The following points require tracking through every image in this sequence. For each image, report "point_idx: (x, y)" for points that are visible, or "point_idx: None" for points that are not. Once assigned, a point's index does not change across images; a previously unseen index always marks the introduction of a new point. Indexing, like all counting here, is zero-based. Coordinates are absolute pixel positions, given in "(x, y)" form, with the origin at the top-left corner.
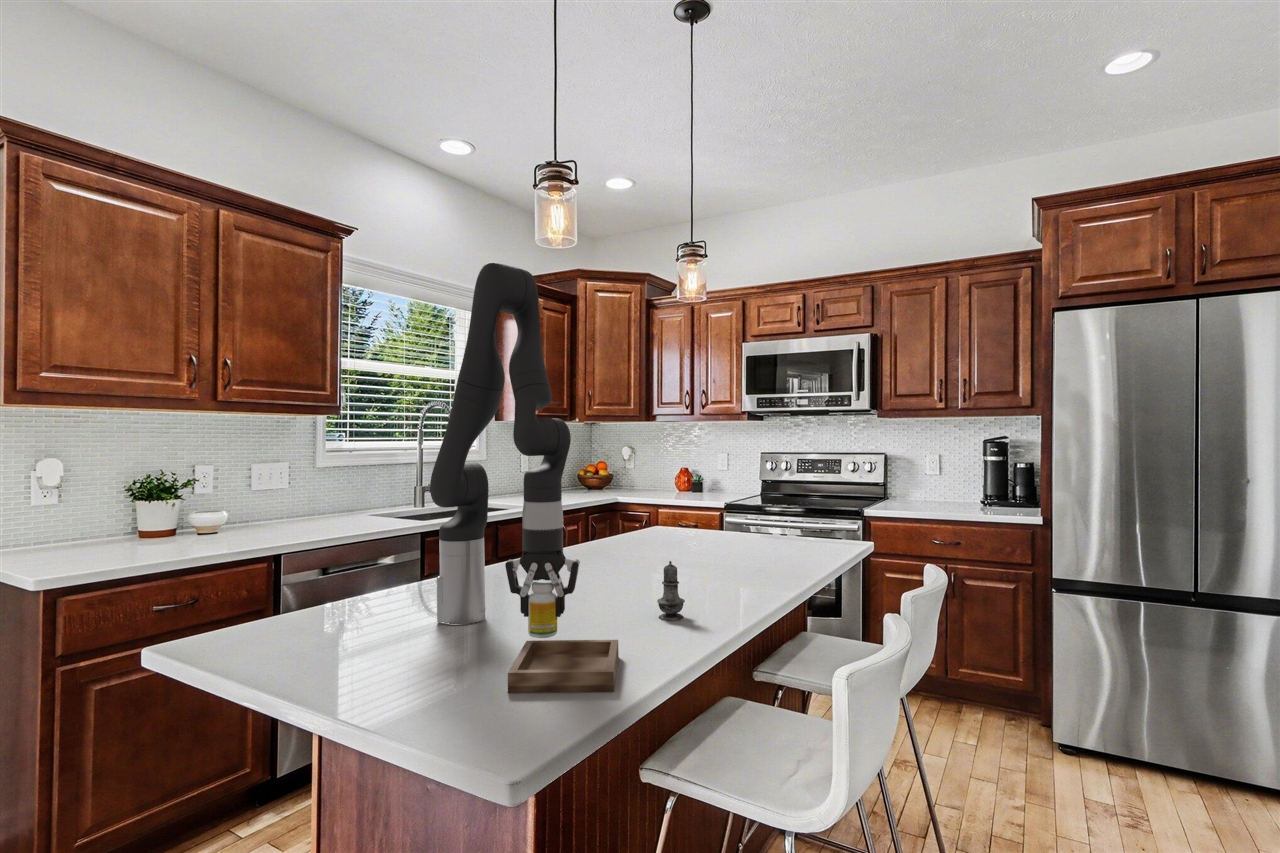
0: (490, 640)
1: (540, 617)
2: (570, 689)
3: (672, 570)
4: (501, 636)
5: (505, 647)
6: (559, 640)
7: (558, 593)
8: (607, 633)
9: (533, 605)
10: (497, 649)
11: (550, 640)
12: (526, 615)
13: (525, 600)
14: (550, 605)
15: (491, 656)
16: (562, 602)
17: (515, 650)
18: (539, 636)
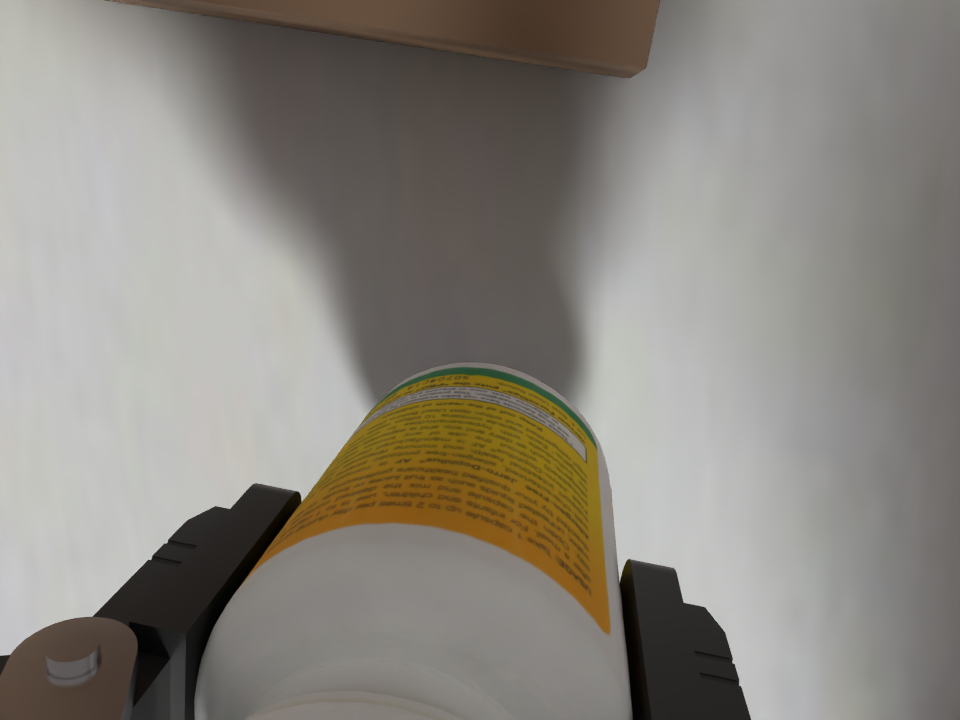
0: (905, 608)
1: (473, 434)
2: None
3: None
4: (807, 677)
5: (797, 412)
6: (283, 6)
7: (103, 665)
8: (33, 562)
9: (555, 555)
10: (871, 374)
11: (380, 26)
12: (642, 565)
13: (681, 702)
14: (306, 520)
15: (946, 190)
16: (142, 587)
17: (718, 316)
18: (507, 367)
